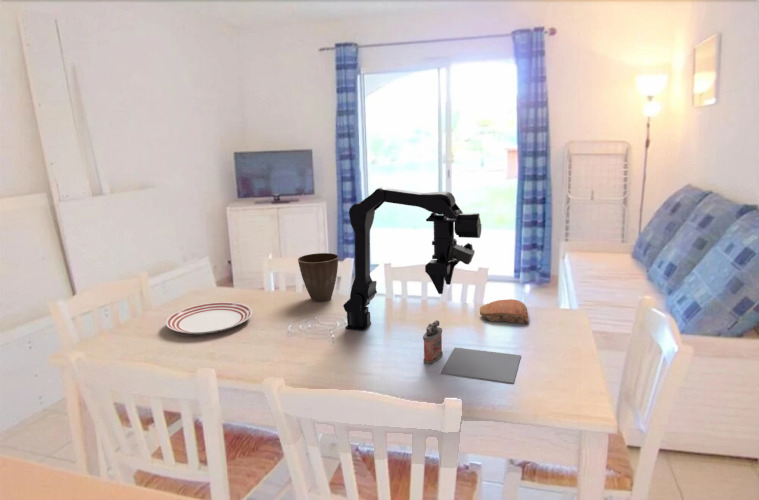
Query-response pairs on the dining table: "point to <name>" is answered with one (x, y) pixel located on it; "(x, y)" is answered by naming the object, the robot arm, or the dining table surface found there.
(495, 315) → the brown rounded lump
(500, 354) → the mat
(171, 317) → the dinner plate
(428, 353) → the lighter
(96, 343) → the dining table surface
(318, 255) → the plant pot
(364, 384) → the dining table surface
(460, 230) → the robot arm
